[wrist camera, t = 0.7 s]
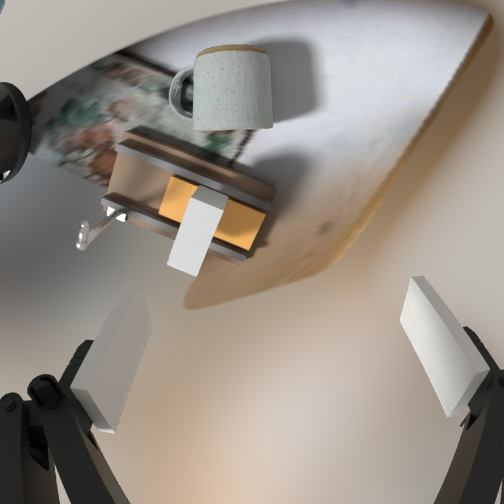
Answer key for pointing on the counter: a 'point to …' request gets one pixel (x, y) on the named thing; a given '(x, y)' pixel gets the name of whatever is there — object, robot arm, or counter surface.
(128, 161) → the brown piece
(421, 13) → the counter surface
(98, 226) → the keeper hook
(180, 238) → the white block on base
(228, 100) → the ceramic mug
